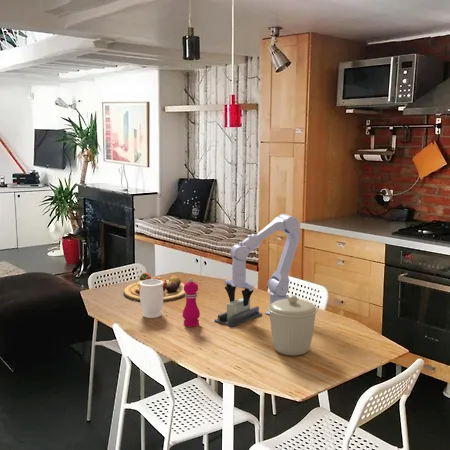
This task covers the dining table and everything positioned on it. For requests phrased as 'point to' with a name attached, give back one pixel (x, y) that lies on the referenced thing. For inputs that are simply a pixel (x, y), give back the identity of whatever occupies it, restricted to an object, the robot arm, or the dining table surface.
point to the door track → (238, 317)
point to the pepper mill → (191, 304)
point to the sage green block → (236, 307)
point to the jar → (151, 297)
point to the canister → (292, 325)
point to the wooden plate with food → (170, 287)
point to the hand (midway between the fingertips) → (238, 303)
